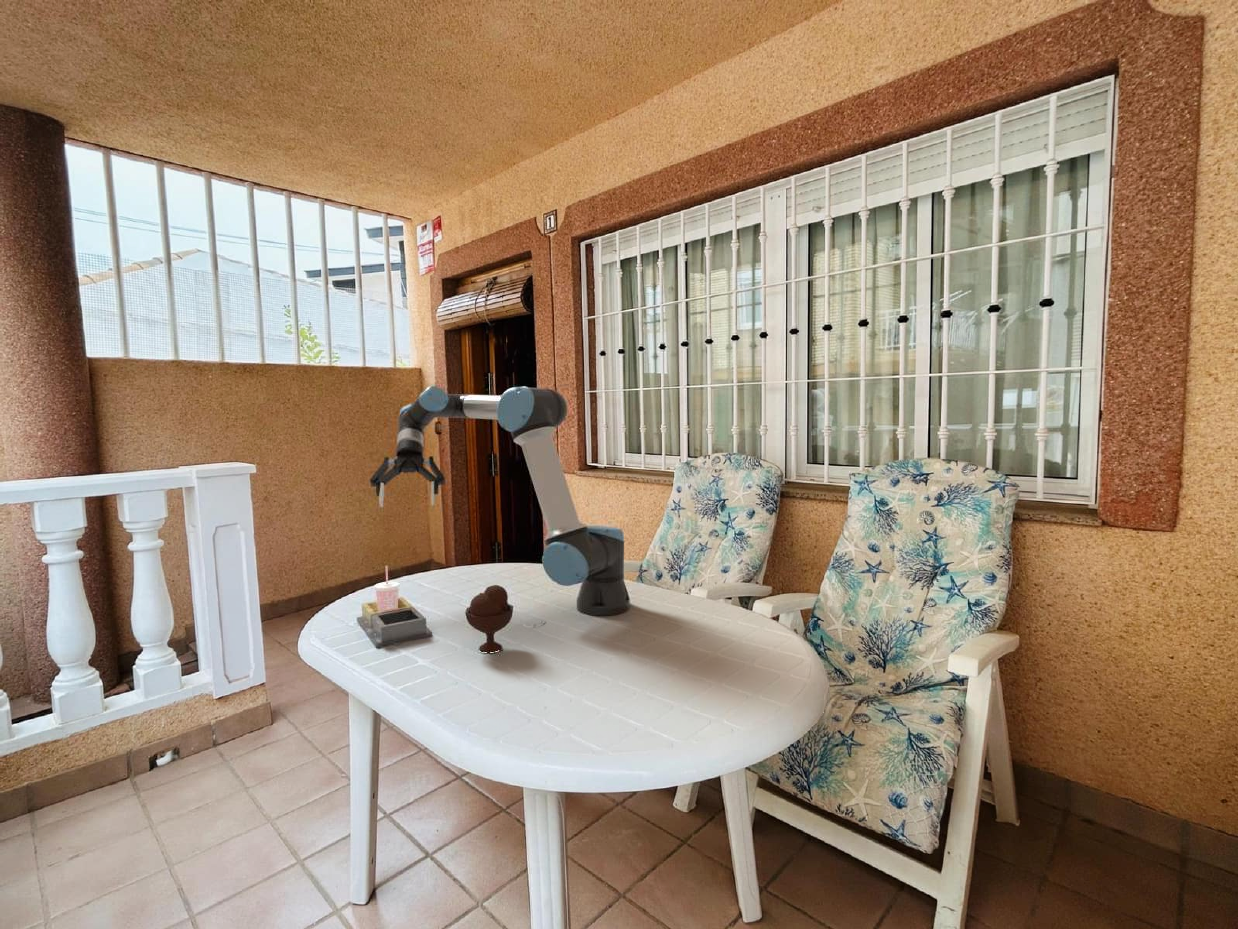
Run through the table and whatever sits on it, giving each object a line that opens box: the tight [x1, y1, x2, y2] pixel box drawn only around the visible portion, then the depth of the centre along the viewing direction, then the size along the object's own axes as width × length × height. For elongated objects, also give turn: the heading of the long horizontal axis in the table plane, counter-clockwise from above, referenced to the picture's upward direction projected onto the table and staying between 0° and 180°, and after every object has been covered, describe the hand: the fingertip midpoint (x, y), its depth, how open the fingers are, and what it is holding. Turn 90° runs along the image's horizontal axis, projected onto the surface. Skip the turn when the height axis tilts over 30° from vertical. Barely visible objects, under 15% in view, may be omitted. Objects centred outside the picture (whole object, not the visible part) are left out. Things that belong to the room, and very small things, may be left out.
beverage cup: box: [374, 565, 400, 612], centre depth 151 cm, size 6×6×14 cm
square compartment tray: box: [356, 596, 433, 649], centre depth 147 cm, size 22×13×4 cm, turn 35°
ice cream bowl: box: [464, 584, 514, 653], centre depth 133 cm, size 11×11×15 cm
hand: (406, 503), depth 162 cm, fingers open, 13 cm apart
